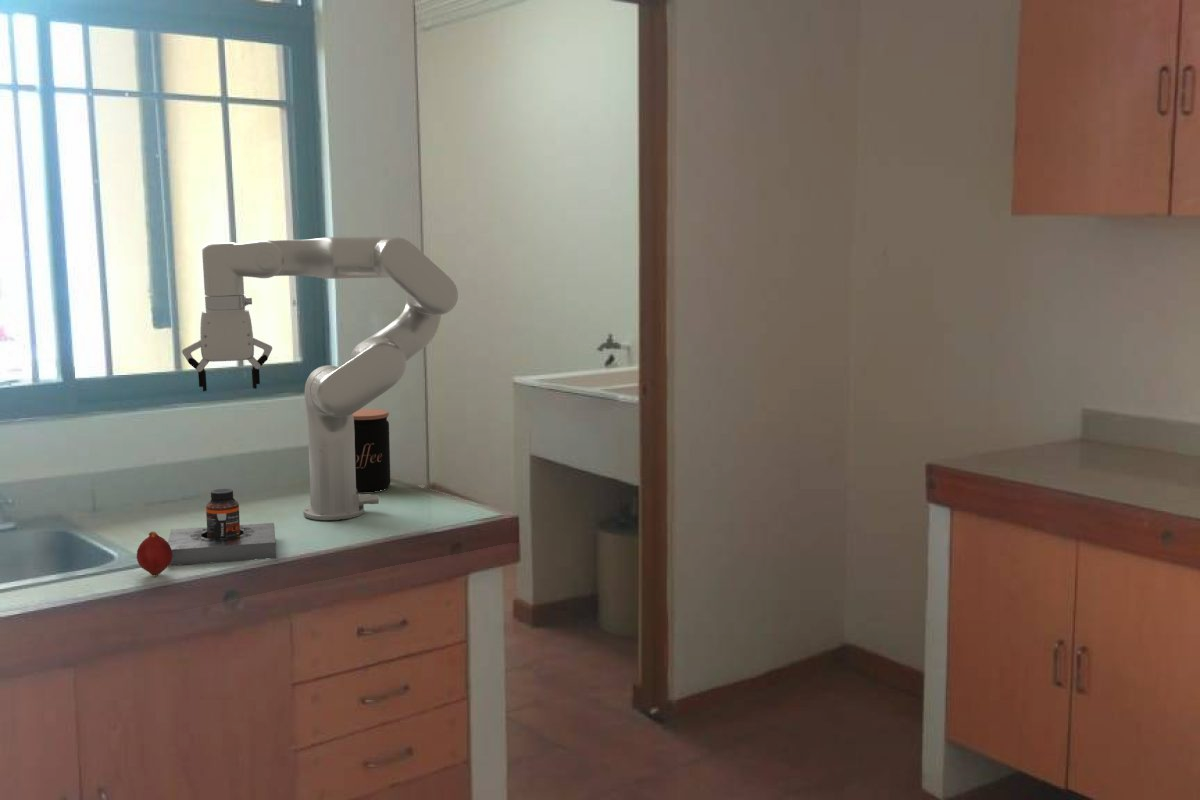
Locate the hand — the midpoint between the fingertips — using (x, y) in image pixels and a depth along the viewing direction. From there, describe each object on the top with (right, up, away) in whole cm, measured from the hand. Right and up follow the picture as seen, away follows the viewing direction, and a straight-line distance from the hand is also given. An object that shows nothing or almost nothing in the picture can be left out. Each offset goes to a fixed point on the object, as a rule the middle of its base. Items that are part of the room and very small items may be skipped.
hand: (229, 389), depth 239 cm
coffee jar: (+20, -23, +37) cm, 48 cm away
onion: (-3, -33, -32) cm, 46 cm away
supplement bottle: (+4, -31, -15) cm, 34 cm away
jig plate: (+4, -31, -16) cm, 35 cm away
